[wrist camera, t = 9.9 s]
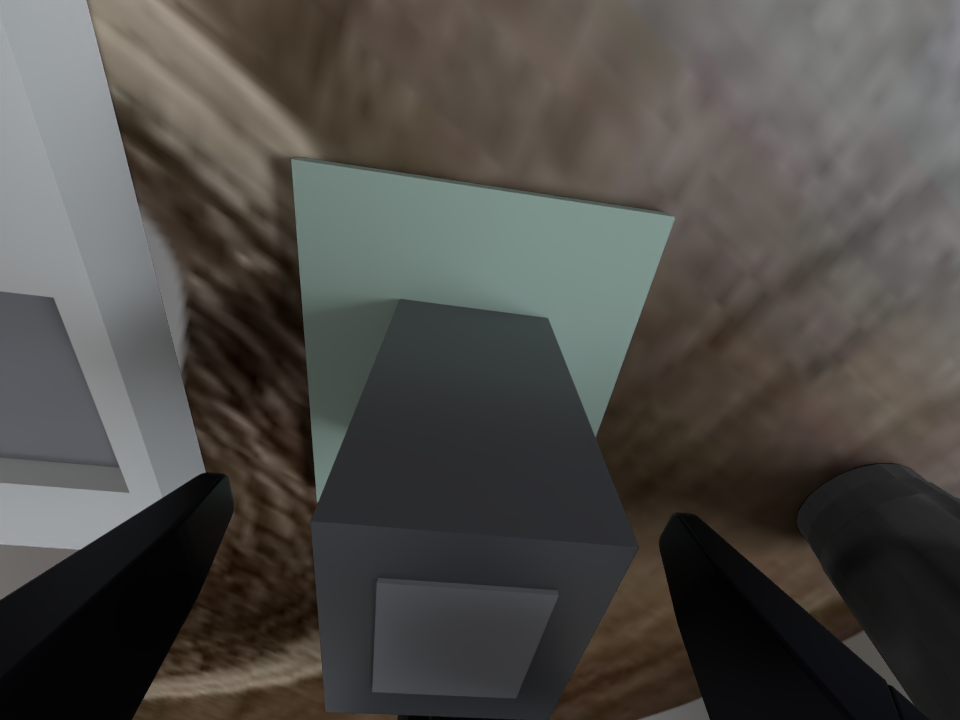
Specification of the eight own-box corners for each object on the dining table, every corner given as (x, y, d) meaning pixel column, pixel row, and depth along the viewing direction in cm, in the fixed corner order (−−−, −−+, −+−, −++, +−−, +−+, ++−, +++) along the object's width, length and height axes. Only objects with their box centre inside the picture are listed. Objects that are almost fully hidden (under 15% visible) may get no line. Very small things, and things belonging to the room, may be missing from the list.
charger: (513, 455, 14) (548, 725, 8) (391, 443, 13) (324, 716, 7) (548, 318, 11) (641, 552, 5) (399, 298, 11) (308, 526, 5)
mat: (562, 508, 16) (565, 521, 15) (322, 488, 15) (316, 501, 15) (665, 212, 11) (675, 216, 10) (300, 157, 10) (291, 159, 9)
